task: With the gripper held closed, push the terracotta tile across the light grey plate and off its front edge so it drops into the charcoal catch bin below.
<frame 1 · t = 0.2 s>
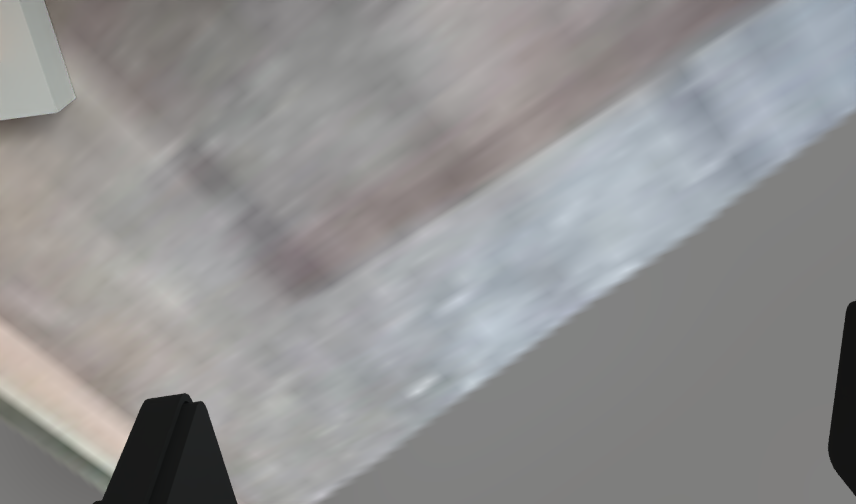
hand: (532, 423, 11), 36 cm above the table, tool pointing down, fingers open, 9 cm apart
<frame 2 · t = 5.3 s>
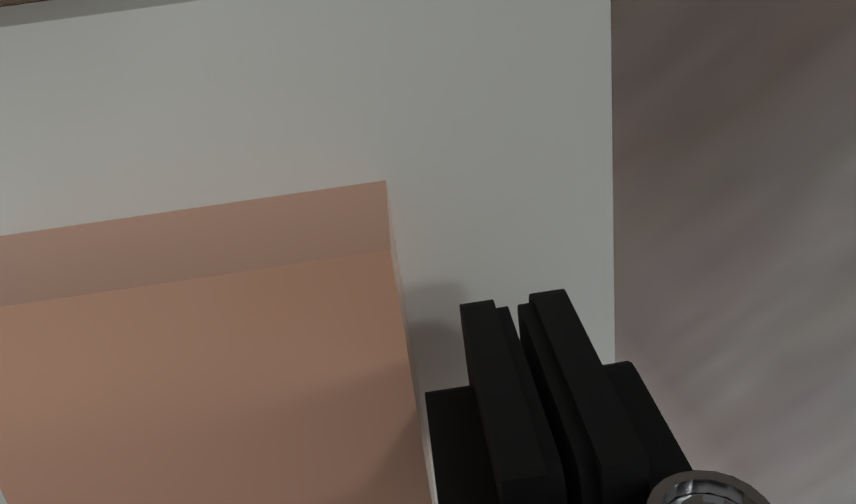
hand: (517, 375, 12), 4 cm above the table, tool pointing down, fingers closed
tile: (239, 366, 13), point 3 cm above the table, touching gripper
plate: (275, 282, 16), on the table
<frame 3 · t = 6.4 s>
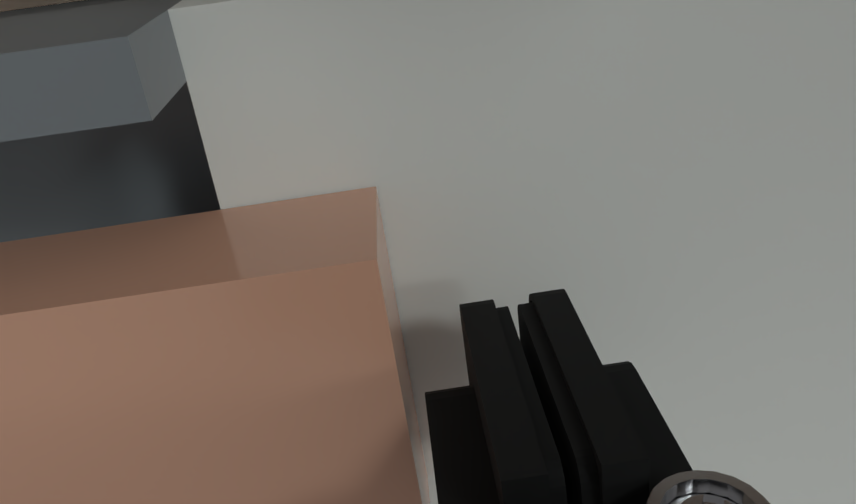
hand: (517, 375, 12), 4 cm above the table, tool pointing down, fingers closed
tile: (232, 372, 13), point 3 cm above the table
plate: (576, 241, 16), on the table
catch bin: (63, 316, 16), on the table
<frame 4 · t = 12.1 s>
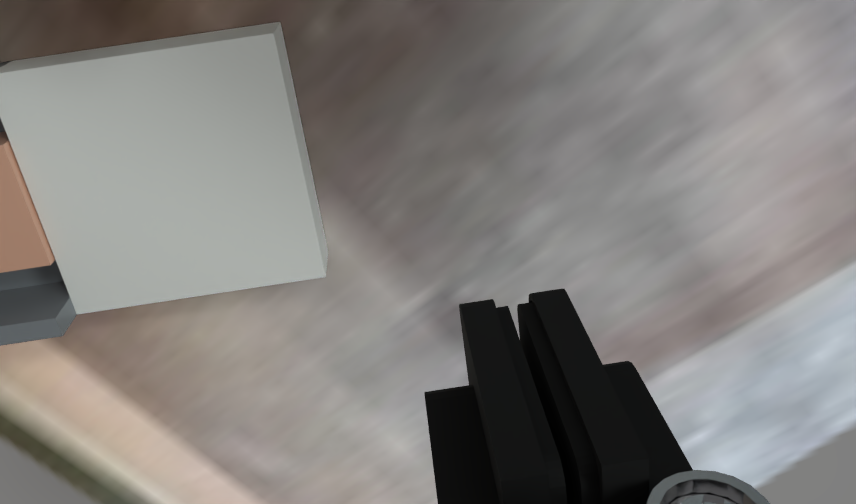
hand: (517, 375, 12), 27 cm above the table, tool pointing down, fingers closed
plate: (181, 162, 38), on the table
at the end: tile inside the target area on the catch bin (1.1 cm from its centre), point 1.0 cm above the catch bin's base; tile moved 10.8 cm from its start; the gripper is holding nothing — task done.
